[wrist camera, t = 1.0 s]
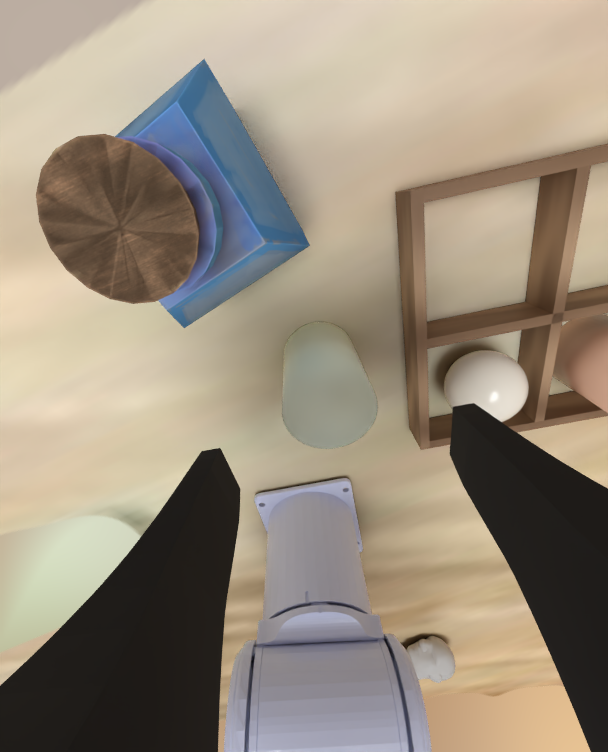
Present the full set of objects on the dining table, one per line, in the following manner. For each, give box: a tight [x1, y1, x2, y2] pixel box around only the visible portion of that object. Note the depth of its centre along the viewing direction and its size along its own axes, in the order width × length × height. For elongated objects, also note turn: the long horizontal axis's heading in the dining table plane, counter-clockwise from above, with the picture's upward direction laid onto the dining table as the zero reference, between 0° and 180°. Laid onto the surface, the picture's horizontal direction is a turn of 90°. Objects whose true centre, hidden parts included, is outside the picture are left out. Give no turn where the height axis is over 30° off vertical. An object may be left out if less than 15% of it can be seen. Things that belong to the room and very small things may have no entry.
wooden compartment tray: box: [395, 144, 608, 450], centre depth 19 cm, size 16×16×2 cm
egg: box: [444, 350, 529, 422], centre depth 20 cm, size 5×5×5 cm
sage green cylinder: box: [282, 322, 378, 449], centre depth 19 cm, size 5×5×6 cm
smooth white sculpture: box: [407, 636, 455, 683], centre depth 39 cm, size 4×8×5 cm
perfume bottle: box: [36, 60, 310, 328], centre depth 12 cm, size 6×6×12 cm
